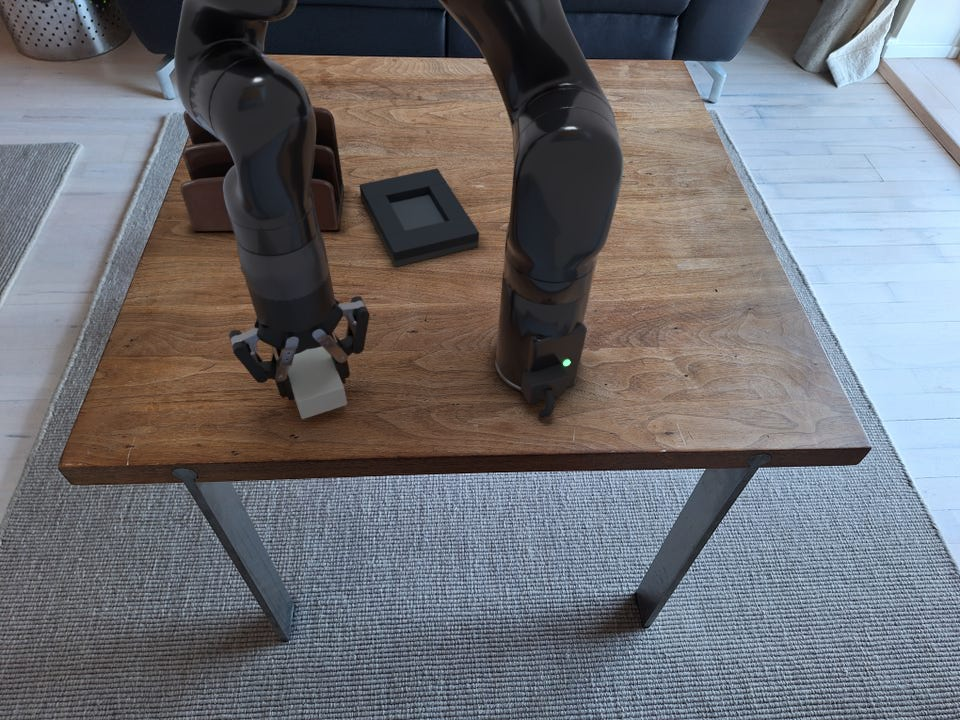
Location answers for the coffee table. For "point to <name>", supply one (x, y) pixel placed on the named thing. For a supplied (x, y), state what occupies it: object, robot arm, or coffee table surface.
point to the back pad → (418, 217)
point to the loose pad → (316, 383)
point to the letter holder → (214, 161)
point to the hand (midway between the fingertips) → (315, 385)
